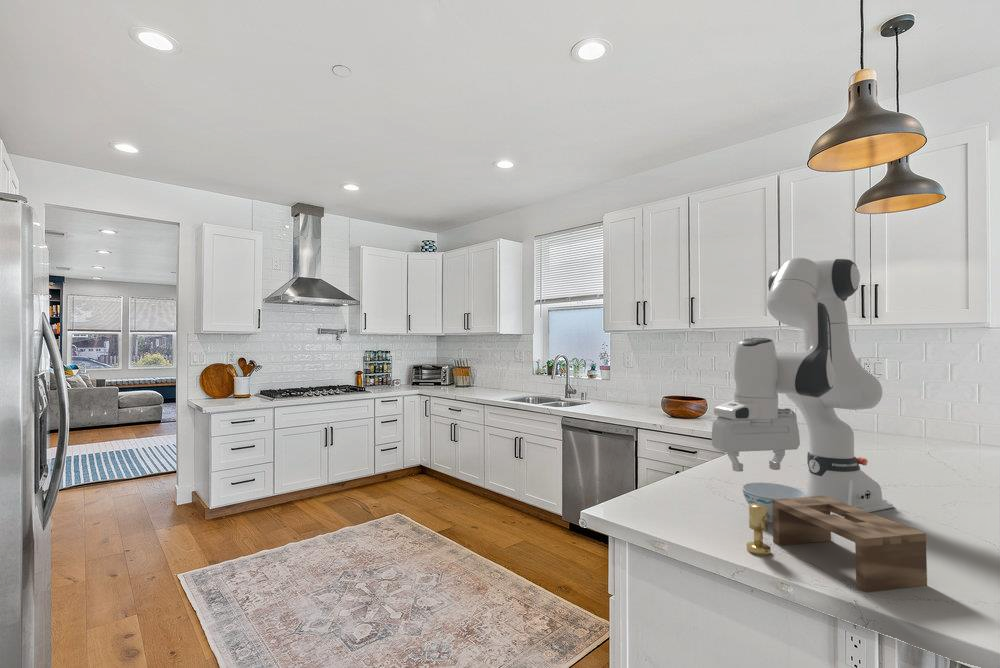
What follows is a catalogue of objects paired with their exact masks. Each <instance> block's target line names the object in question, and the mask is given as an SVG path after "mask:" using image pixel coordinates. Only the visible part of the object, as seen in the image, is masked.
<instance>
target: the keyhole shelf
mask: <svg viewBox="0 0 1000 668" xmlns="http://www.w3.org/2000/svg"><path fill="white" fill-rule="evenodd" d="M831 513H833V514H831ZM772 514H773V523H772V543H775V544H776V545H778V546H784V545H785V546H787V545H795V544H806V543H807V544H808V543H818V542H829V541H832V533H833V534H835V535H838V536H840V537H842V538H844V539H847V540H849V541H851V542H853V543H855V544H854V545H855V546H854V547H855V549H854V550H855V584H856V585H855V587H856V588H857V589H859V590H860V591H863V592H865V593H871V592H879V591H881V592H882V591H888V590H889V591H890V590H897V589H898V590H899V589H906V588H915V587H923V586H928V566H927V565H928V564H927V534H926V532H924V531H921V530H918V529H916V528H913V527H910V526H908V525H904V524H902V523H899V522H897V521H894V520H890V519H889V518H888V519H887V518H886V517H883V516H880V515H877V514H874V513H873V512H866V511H864V510H861V509H858V508H855V507H853V506H850V505H847V504H845V503H842V502H839V501H836V500H834V499H831V498H828V497H825V496H812V497H798V498H784V499H772Z"/></svg>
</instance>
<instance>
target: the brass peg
mask: <svg viewBox="0 0 1000 668" xmlns="http://www.w3.org/2000/svg"><path fill="white" fill-rule="evenodd" d="M748 524H749V525H748V526H749V527H748V528H749V529H751V530H753V541H749V542H746V551H747V552H748V553H750V554H751V555H755V556H760V557H768V556H770V555H771V554H772V552H771V551H772V549H771V546H770V545H769V544H766V543H764V532H766V531H768V522H767V507H766V506H765V505H762V504H755V503H753V504H748Z"/></svg>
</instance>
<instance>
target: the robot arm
mask: <svg viewBox="0 0 1000 668" xmlns="http://www.w3.org/2000/svg"><path fill="white" fill-rule="evenodd" d="M860 281H861V274H860V271H859V269H858V266H857V264H856V263H855V262H854V261H852V260H851V259H845V258H836V259H834V260H832V259H829V260H816V261H814V260H811V259H809V258H804V257H796V258H795V257H794V258H791V259H789V260H787V261H785V262H784V263H783V264H782V266H781V267H780V268H776V269H775V270H773V272H771V274H770V276H769V277H768V295H767V300H766V307H767V310H768V313H769V314H770V315H771V316H772V317H773V318H774V319H775V320H776V321H778V322H779V323H782V324H783V325H786V326H789V327H794V328H798V329H801V330H803V343H804V348H805V351H803V352H777V351H776V346H775V343H774V341H773V339H770V338H767V337H752V338H745V339H741V340H740V341H738V342H737V344H736V348H735V353H734V362H733V364H734V365H733V378H734V381H735V390H734V393H733V396H734V397H733V399H731V400H729V401H727V402H725V403H722V404H718V405H717V406H715V407H714V409H713V414H714V416H716V417H715V418H714V420H713V422H712V425H711V427H712V428H711V445H712V447H713V449H714V450H716V451H718V452H722V453H727V456H728V458H729V460H730V461H731V464H732V466H731V467H732V471H734V472H743V471H744V464H743V463H742V462H740V461H739V459H738V457H740V452H763V451H767V452H768V451H772V453H773V454H774V456H773V457H772V459H771V460H768V464H769V465H768V468H769V469H770V470H773V471H776V470H777V471H779V470H781V462H783V459H784V457H785V455H786V451H789V450H791V451H792V450H798V449H799V447H800V445H801V441H800V430H799V425H798V422H797V420H798V419H797V417H798V416H797V413H795V411H793V410H792V409H791V408H779V396H778V394H785V396H786V397H787V398H788V399H789V400H790V401H791V402H792V403H794V405H795V406H796V407H797V408H798V409H799V411H800V412H801V415H802V417H803V418H804V421H805V424H806V428H807V435H808V436H807V437H808V452H807V455H806V458H807V459H806V460H807V461H806V463H807V467H808V471H807V481H806V485H805V486H806V487H805V491H804V492H805V493H806V497H812V496H825V497H828V498H831V499H834V500H836V501H839V502H842V503H845V504H847V505H850V506H853V507H855V508H858V509H861V510H864V511H866V512H869V513H873V512H878V511H882V510H887V509H892V508H894V505H893V504H894V503H892V502H891V501H890V500H886V499H884V498H883V493H882V487H881V485H880V484H879V482H878V481H875V480H874V479H873V478H872V477H871V476H869V475H868V474H866V473H865V472H864V471H863V470H862V469H861V466H860V465H862V466H867V465H868V461H869V460H868V459H867V458H863V457H856V455H855V433H854V430H853V429H852V427H851V426H850V425H849V424H848V423H846V422H844V421H843V420H841V419H840V418H839V416H838V415H837V414H836V412H835V409H841V410H842V409H844V410H851V411H856V410H857V411H858V410H861V411H862V410H868V409H869V410H870V409H874V408H875V407H876V406H878V404H879V403H880V401H881V399H882V397H883V386H882V384H881V382H880V380H879V379H878V378H877V377H876V376H875V375H873V374H872V373H871V372H868V371H867V370H866V369H865V368H864V367H863V366H862V365H861V364H860V362H859V361H858V360H857V358H856V357H855V355H854V352H853V348H852V346H851V340H850V333H849V332H850V331H849V330H850V329H849V320H848V319H849V318H848V313H847V312H848V311H847V307H846V303H845V302H846V301H847V299H848V298H849V297H851V296H852V295H853V294H855V293H856V291H857V290H858V289H859V284H860Z"/></svg>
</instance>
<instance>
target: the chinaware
mask: <svg viewBox="0 0 1000 668" xmlns="http://www.w3.org/2000/svg"><path fill="white" fill-rule="evenodd" d="M741 490H742V494H743V497H744V499H745V501H746V503H747V505H749V504H753V503H755V504H762V505H765V506H766V507H767V523H771V524H773V514H772V499H784V498H798V497H806V493H805V491H803V490H802V489H800V488H797V487H795V486H790V485H784V484H779V483H775V482H774V483H772V482H748V483H745V484H743V485H742V488H741Z"/></svg>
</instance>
